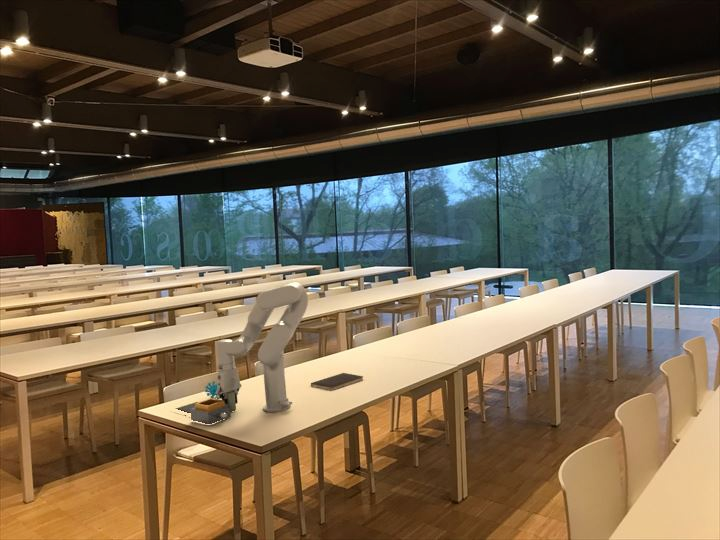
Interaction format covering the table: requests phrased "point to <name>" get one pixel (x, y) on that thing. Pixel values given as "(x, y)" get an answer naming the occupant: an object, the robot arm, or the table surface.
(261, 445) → the table surface
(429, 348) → the table surface
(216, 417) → the box
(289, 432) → the table surface
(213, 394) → the gear
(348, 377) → the hardcover book
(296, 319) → the robot arm
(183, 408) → the dark grey flat slab
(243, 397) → the table surface
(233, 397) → the spout can
